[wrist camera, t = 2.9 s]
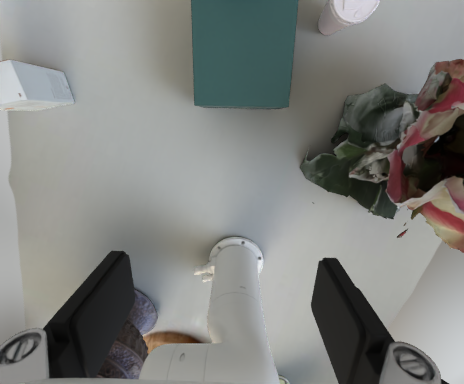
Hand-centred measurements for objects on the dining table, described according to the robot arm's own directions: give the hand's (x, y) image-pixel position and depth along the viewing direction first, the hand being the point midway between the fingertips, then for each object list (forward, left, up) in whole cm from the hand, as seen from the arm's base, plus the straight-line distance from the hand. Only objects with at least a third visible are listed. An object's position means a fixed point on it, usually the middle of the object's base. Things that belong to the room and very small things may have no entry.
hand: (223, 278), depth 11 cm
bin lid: (+6, +16, -27) cm, 32 cm away
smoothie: (+21, +18, -37) cm, 46 cm away
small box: (-31, +20, -37) cm, 52 cm away
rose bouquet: (+29, -5, -37) cm, 47 cm away
